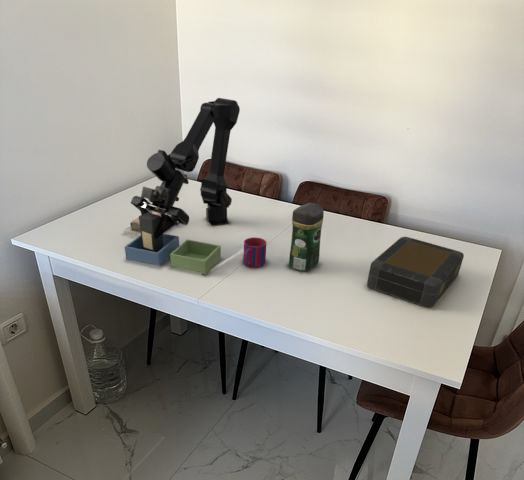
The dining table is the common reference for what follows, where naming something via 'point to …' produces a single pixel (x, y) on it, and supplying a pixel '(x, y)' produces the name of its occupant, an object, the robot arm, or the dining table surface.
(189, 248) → the green bin
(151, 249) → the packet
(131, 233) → the packaged product
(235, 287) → the dining table surface
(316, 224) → the coffee jar
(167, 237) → the blue bin
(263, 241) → the red cup
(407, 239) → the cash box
